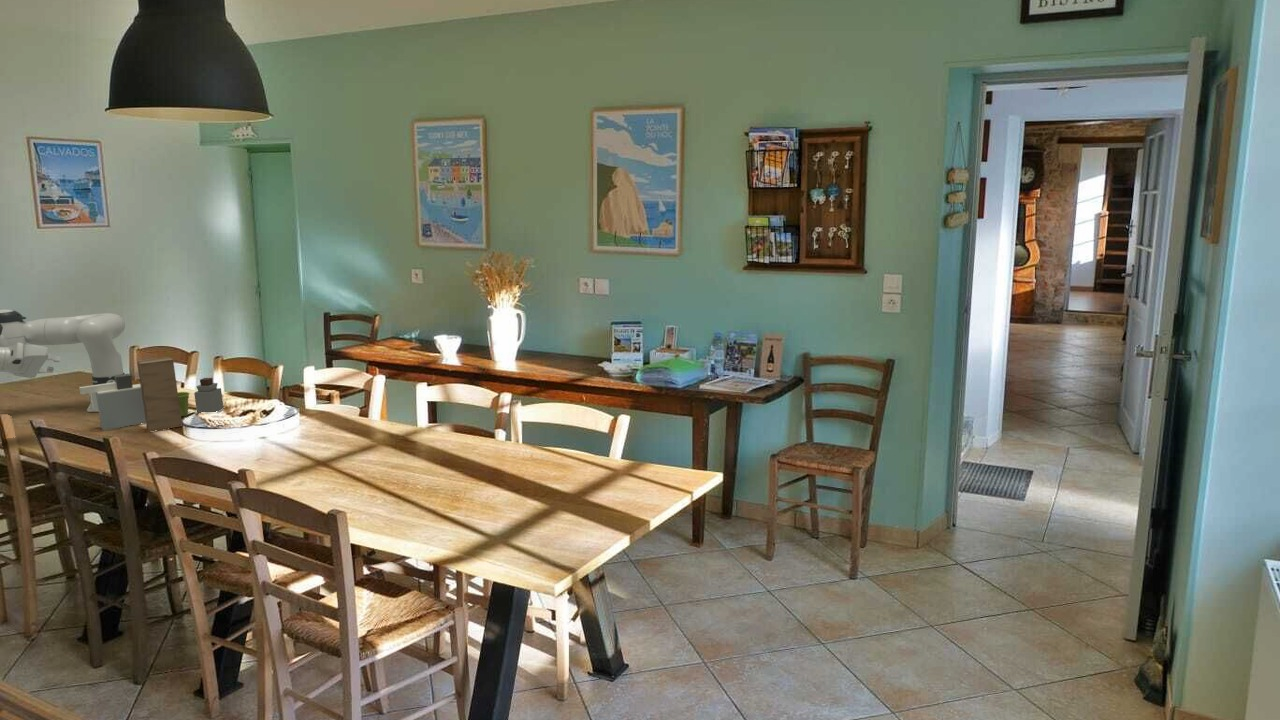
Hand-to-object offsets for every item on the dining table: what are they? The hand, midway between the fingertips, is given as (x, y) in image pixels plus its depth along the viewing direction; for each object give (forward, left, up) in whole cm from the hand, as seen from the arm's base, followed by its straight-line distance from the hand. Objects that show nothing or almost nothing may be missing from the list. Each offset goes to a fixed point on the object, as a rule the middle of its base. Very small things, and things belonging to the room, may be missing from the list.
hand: (56, 364), depth 340 cm
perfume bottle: (+25, +45, -27) cm, 58 cm away
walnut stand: (+16, +30, -27) cm, 43 cm away
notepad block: (0, +19, -27) cm, 33 cm away
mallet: (0, +15, -12) cm, 19 cm away
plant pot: (0, +38, -27) cm, 47 cm away
